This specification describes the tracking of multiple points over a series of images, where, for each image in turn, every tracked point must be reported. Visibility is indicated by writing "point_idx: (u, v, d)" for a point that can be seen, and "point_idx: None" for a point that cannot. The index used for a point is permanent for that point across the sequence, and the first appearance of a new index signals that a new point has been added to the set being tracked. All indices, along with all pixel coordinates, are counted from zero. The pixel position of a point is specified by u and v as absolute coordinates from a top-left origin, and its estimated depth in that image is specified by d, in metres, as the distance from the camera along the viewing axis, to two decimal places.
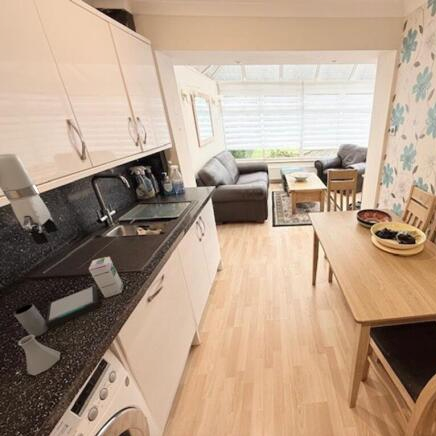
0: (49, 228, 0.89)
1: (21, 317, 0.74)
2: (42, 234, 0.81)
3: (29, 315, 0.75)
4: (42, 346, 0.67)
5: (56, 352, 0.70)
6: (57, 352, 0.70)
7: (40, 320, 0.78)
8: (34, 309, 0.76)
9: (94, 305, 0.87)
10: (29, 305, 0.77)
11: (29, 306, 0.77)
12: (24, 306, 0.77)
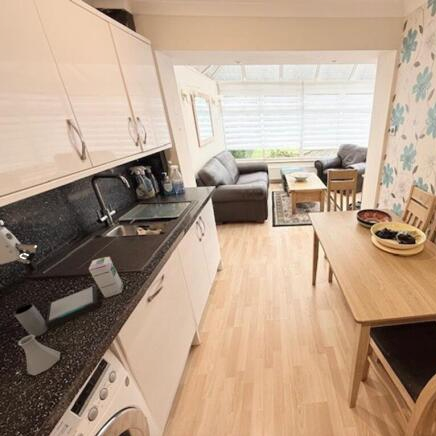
0: None
1: (21, 317, 0.74)
2: None
3: (29, 315, 0.75)
4: (42, 346, 0.67)
5: (56, 352, 0.70)
6: (57, 352, 0.70)
7: (40, 320, 0.78)
8: (34, 309, 0.76)
9: (94, 305, 0.87)
10: (29, 305, 0.77)
11: (29, 306, 0.77)
12: (24, 306, 0.77)
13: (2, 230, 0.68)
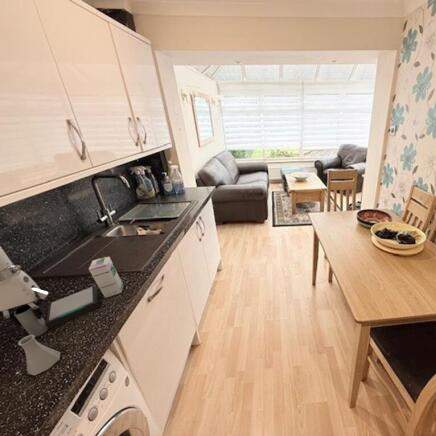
0: None
1: (21, 317, 0.74)
2: None
3: (29, 315, 0.75)
4: (42, 346, 0.67)
5: (56, 352, 0.70)
6: (57, 352, 0.70)
7: (40, 320, 0.78)
8: None
9: (94, 305, 0.87)
10: None
11: (29, 306, 0.77)
12: (24, 306, 0.77)
13: (20, 274, 0.71)
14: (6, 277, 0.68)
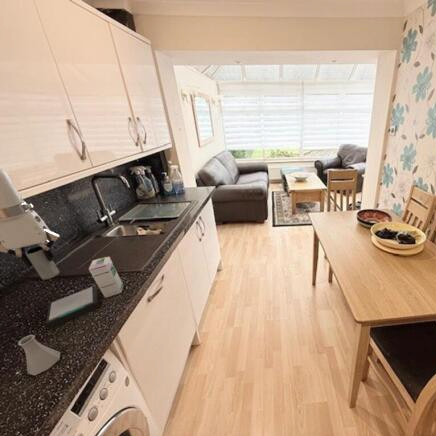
0: None
1: (33, 257, 0.75)
2: None
3: (40, 256, 0.76)
4: (42, 346, 0.67)
5: (56, 352, 0.70)
6: (57, 352, 0.70)
7: (51, 263, 0.79)
8: None
9: (94, 305, 0.87)
10: (40, 247, 0.78)
11: (40, 249, 0.78)
12: (35, 248, 0.78)
13: (32, 213, 0.73)
14: (19, 213, 0.70)
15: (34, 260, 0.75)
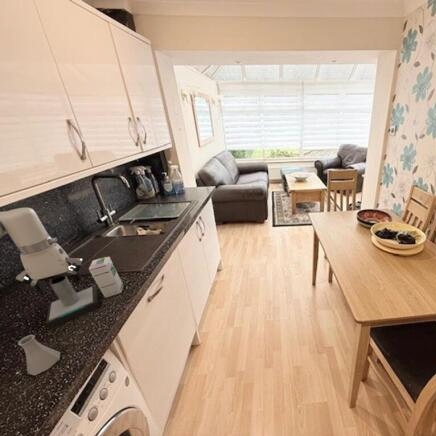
0: None
1: (56, 287, 0.81)
2: None
3: (63, 286, 0.82)
4: (42, 346, 0.67)
5: (56, 352, 0.70)
6: (57, 352, 0.70)
7: (72, 291, 0.85)
8: (67, 280, 0.84)
9: (94, 305, 0.87)
10: (62, 277, 0.84)
11: (62, 278, 0.85)
12: (58, 278, 0.84)
13: (56, 246, 0.79)
14: (45, 247, 0.76)
15: (57, 290, 0.82)
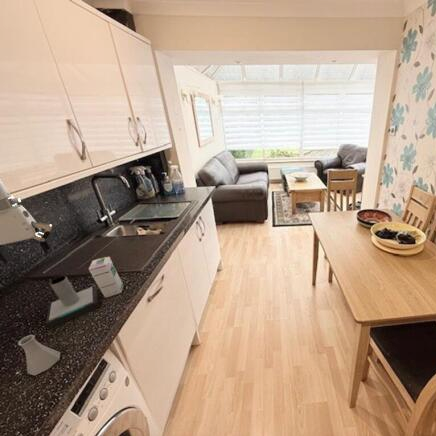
0: None
1: (56, 287, 0.81)
2: None
3: (63, 286, 0.82)
4: (42, 346, 0.67)
5: (56, 352, 0.70)
6: (57, 352, 0.70)
7: (72, 291, 0.85)
8: (67, 280, 0.84)
9: (94, 305, 0.87)
10: (62, 277, 0.84)
11: (62, 278, 0.85)
12: (58, 278, 0.84)
13: (19, 207, 0.70)
14: (5, 207, 0.67)
15: (57, 290, 0.82)
